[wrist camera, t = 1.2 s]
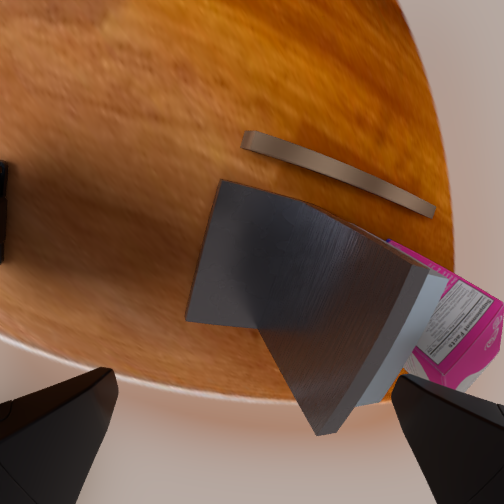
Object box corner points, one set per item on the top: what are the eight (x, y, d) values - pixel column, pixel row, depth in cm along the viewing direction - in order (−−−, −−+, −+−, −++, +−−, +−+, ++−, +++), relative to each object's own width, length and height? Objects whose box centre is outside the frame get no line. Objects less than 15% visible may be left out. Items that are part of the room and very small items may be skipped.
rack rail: (240, 147, 16) (249, 149, 15) (245, 131, 16) (255, 130, 14) (414, 211, 22) (432, 218, 20) (418, 200, 22) (436, 206, 20)
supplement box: (406, 282, 25) (501, 353, 14) (357, 325, 25) (443, 415, 14) (389, 233, 22) (508, 303, 12) (332, 281, 22) (439, 382, 12)
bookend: (184, 316, 19) (213, 445, 10) (220, 178, 17) (292, 235, 8) (270, 325, 22) (336, 432, 13) (313, 204, 19) (429, 269, 10)
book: (287, 319, 22) (349, 407, 14) (326, 215, 20) (423, 273, 12) (314, 321, 23) (379, 402, 15) (353, 224, 21) (449, 279, 13)
